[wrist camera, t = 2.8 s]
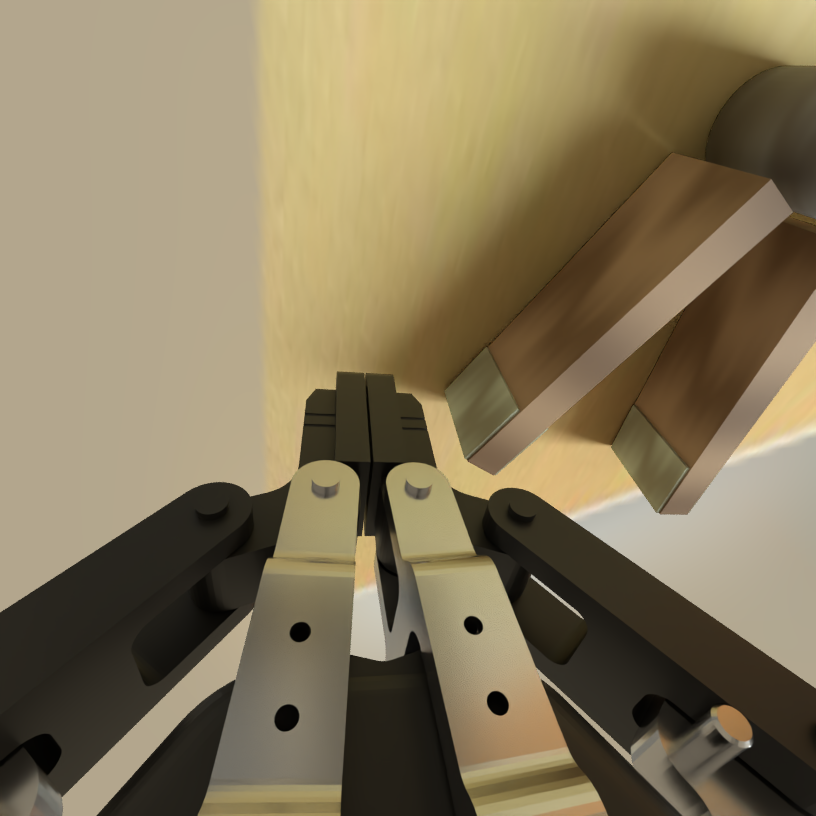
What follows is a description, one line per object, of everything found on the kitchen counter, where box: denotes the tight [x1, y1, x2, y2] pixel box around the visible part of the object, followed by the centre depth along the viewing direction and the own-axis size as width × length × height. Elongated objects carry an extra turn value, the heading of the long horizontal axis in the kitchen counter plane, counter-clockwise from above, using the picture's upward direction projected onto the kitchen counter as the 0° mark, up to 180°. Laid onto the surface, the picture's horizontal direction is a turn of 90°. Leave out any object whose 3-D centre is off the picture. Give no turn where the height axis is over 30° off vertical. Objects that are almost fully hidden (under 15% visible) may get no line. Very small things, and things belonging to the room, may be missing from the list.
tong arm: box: [444, 152, 793, 475], centre depth 18 cm, size 13×2×5 cm, turn 142°
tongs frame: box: [611, 66, 816, 515], centre depth 18 cm, size 18×4×7 cm, turn 172°
